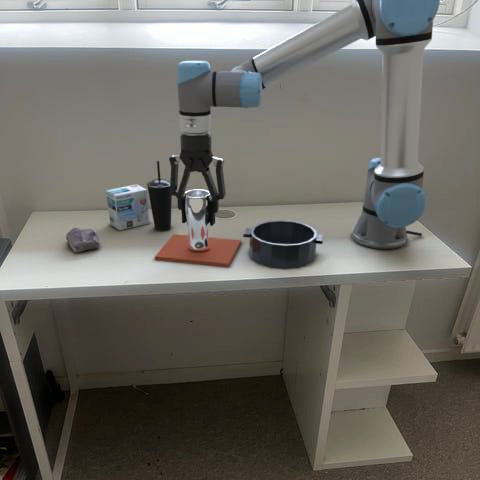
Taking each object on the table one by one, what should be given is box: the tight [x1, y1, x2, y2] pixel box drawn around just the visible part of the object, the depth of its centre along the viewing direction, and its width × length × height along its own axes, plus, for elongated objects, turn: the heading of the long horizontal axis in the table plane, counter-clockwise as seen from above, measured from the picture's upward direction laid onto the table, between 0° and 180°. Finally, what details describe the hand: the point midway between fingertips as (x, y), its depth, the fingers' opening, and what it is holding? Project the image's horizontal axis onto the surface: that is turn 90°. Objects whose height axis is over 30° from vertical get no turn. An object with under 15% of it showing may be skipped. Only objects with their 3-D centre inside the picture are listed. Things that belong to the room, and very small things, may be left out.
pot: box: [242, 219, 325, 270], centre depth 136 cm, size 21×18×6 cm
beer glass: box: [184, 188, 212, 251], centre depth 134 cm, size 7×7×15 cm
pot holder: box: [154, 233, 242, 268], centre depth 139 cm, size 20×16×1 cm
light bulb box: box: [105, 183, 150, 231], centre depth 153 cm, size 11×7×11 cm, turn 128°
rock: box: [65, 227, 101, 254], centre depth 140 cm, size 8×11×5 cm
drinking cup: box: [146, 160, 173, 232], centre depth 148 cm, size 8×8×20 cm
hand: (198, 222), depth 135 cm, fingers closed on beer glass, 7 cm apart
